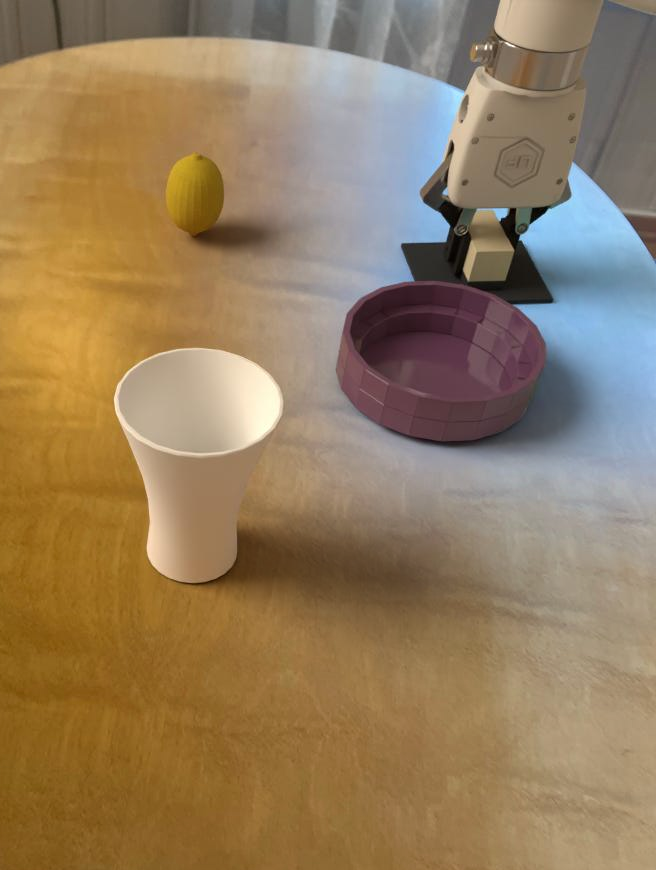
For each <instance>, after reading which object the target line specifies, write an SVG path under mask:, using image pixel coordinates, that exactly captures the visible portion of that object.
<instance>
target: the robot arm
mask: <svg viewBox="0 0 656 870" xmlns="http://www.w3.org/2000/svg"><path fill="white" fill-rule="evenodd" d="M604 1H605V0H499V4H498V6H497V7H498V8H497V11H496V16H495V20H494V23H493V27H490V29H489V33H488V36H487V38H486V40H482V41H481V42H473V43H472V45H471V48H470V52H469V59H470V62H473V63H475V62H476V63H477V62H479V64H483V65H481V66H477V67H476V69H475V70H474V71H473V74H472V77H471V79H470V81H469V83H468V85H467V87H466V89H465V92H464V94H463V96H462V99H461V101H460V104H459V106H458V109H457V111H456V114H455V117H454V120H453V123H452V126H451V129H450V132H449V135H448V138H447V143H446V146H445V149H444V154H443V156H442V160H441V164H440V166H438V167H437V169H436V170H435V172H433V174H432V175H431V176H430V177H429V179H428V180H427V181H426V182H425V184H424V185H423V186H422V188H420V189H419V196H420V198H421V200H422V202H423V204H424V205H426V206H428V207H429V208H431V209H432V210H433V211H435V212H437V213H439V214H440V215H441V216H442V218H443V219H444V220H445V221H446V222H447V224H448V225H449V228H448V232H447V236H446V239H445V240H446V241H445V242H446V244H445V248H444V253H443V256H444V260H445V262H447V263H448V265H449V267H450V269H451V272H452V274H453V276H459V275H460V274H461V273H462V270H463V266H464V262H465V258H466V255H467V251H468V248H469V244H470V240H471V235H470V233H469V227H470V224H471V222H472V220H473V217H474V215H475V213H476V210H494V209H506V216H505V217H501V218H500V220H499V223H500V225H501V227H502V229H503V230H504V232H505V234H506V236H507V238H508V239H509V241H510V243H511V245H512V247H513V249H514V254H515V251H516V247H517V244H518V241H519V240H520V237H521V235H524V234H525V233H527V232H528V231H529V229H530V225H532V224H533V223H534V222H535V221H537V220H538V219H539V218H541V217H542V216H544V215H545V214H546V213H547V212H548V210H552V209H554V208H556V207H559V206H560V205H563V204H564V203H566V202H568V201H569V200H570V199H571V198H572V197H573V196H572V189H571V186H570V181H569V175H570V173H571V170H572V165H573V162H574V158H575V154H576V149H577V145H578V141H579V137H580V132H581V127H582V121H583V117H584V111H585V104H586V97H587V88H588V87H587V86H588V83H587V81H586V79H584V77H583V76H582V75H581V72H582V70H583V66H584V63H585V60H586V56H587V53H588V50H589V47H590V44H591V41H592V37H593V35H594V32H595V28H596V26H597V24H598V23H597V22H598V20H599V16H600V13H601V10H602V8H603V5H604ZM607 1H608V2H611V3H614V4H617V5H620V6H623V7H626V8H629V9H631V10H634V11H638V12H641V13H645V14H648V15H652V16H656V0H607ZM445 190H446V192H447V194H444V191H445ZM514 254H513V257H514ZM513 257H512V259H513Z"/></svg>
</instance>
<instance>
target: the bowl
mask: <svg viewBox="0 0 656 870" xmlns="http://www.w3.org/2000/svg"><path fill="white" fill-rule="evenodd" d="M342 327H343V328H342V333H341V338H340V344H339V349H338V355H337V361H336V367H335V372H336V376H337V379H338V383H339V387H340V390H341V392H342V393H343V394H344V395H345V397H346V398H347V399H348V400H349V402H350V403H351V404H352V405H353V406H354V407H355V409H356V410H358V411H359V412H361V413H362V414H363V415H365V416H367V417H368V418H370V419H371V420H373V421H374V422H375V423H377V424H378V425H380V426H383V427H385V428H388V429H391V430H393V431H396V432H399V433H401V434H404V435H406V436H410V437H414V438H420V439H426V440H432V441H439V442H461V441H463V442H464V441H476V440H479V439H482V438H487V437H489V436H493V435H496V434H500V433H502V432H504V431H505V430H507V429H509V428H510V427H511V426H512V425H514V424H516V423H518V422H519V421H520V420H521V419H522V418H523V416H524V415H525V414H526V412H527V410H528V408H529V406H530V405H531V404H532V402H533V400H534V399H533V398H534V396H535V393H536V390H537V388H538V385H539V382H540V380H541V377H542V374H543V372H544V369H545V366H546V364H547V344H546V342H545V340H544V337H543V336H542V333H541V331H540V330H539V328H538V326H537V325H536V323H534V322H533V320H532V319H530V318H529V317H528V316H527V315H526V314H525V313H524V312H523V311H522V310H521V309H520V308H519V307H517V306H515V305H514V304H510V303H508V302H506V301H505V300H503V299H501V298H499V297H497V296H496V295H493V294H491V293H488V292H485V291H482V290H479V289H475V288H472V287H469V286H465V285H461V284H454V283H447V282H440V281H414V280H413V281H412V280H411V281H410V280H409V281H402V282H398V283H394V284H389V285H385V286H382V287H379V288H377V289H375V290H373V291H371V292H369V293H367V294H366V295H363V296H361V297H360V298H359V299H358V300H357V301H356V302H355V303H354V304H353V306H352V307H351V308H350V309H349V310H348V311H347V313H346V315H345V318H344V324H343V326H342Z"/></svg>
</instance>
